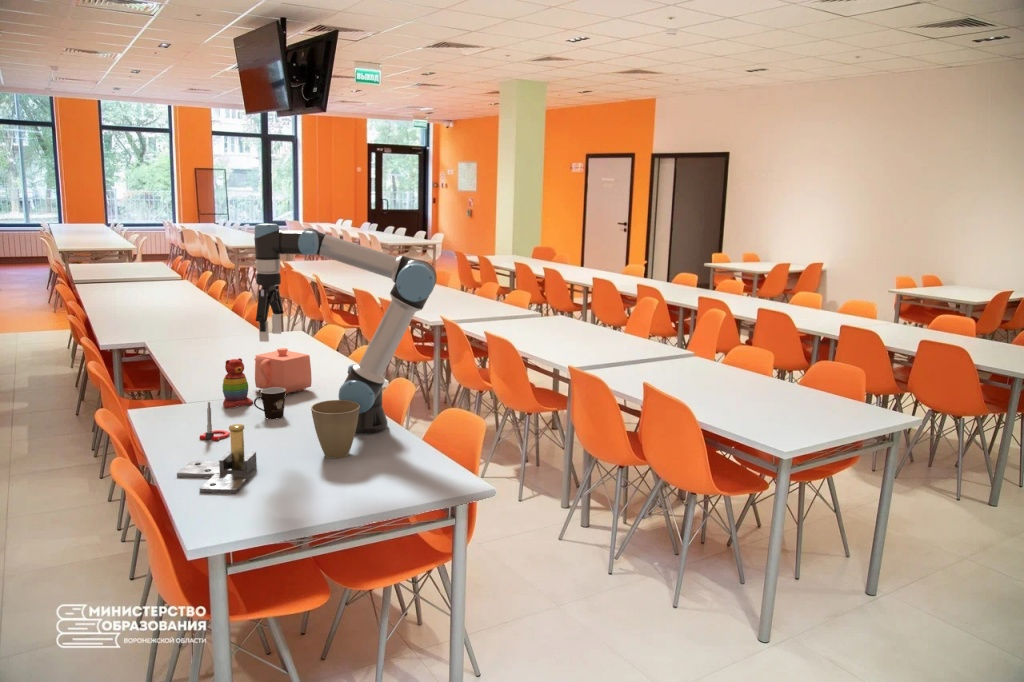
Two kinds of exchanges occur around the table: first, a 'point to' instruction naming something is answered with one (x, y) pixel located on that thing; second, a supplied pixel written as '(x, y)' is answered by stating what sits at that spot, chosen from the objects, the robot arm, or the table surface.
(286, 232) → the robot arm
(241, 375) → the stacking bear
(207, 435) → the tow hook
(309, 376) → the teapot
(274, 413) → the coffee mug
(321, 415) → the plant pot
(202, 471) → the hinge leaves
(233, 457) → the brass hinge pin
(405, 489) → the table surface
